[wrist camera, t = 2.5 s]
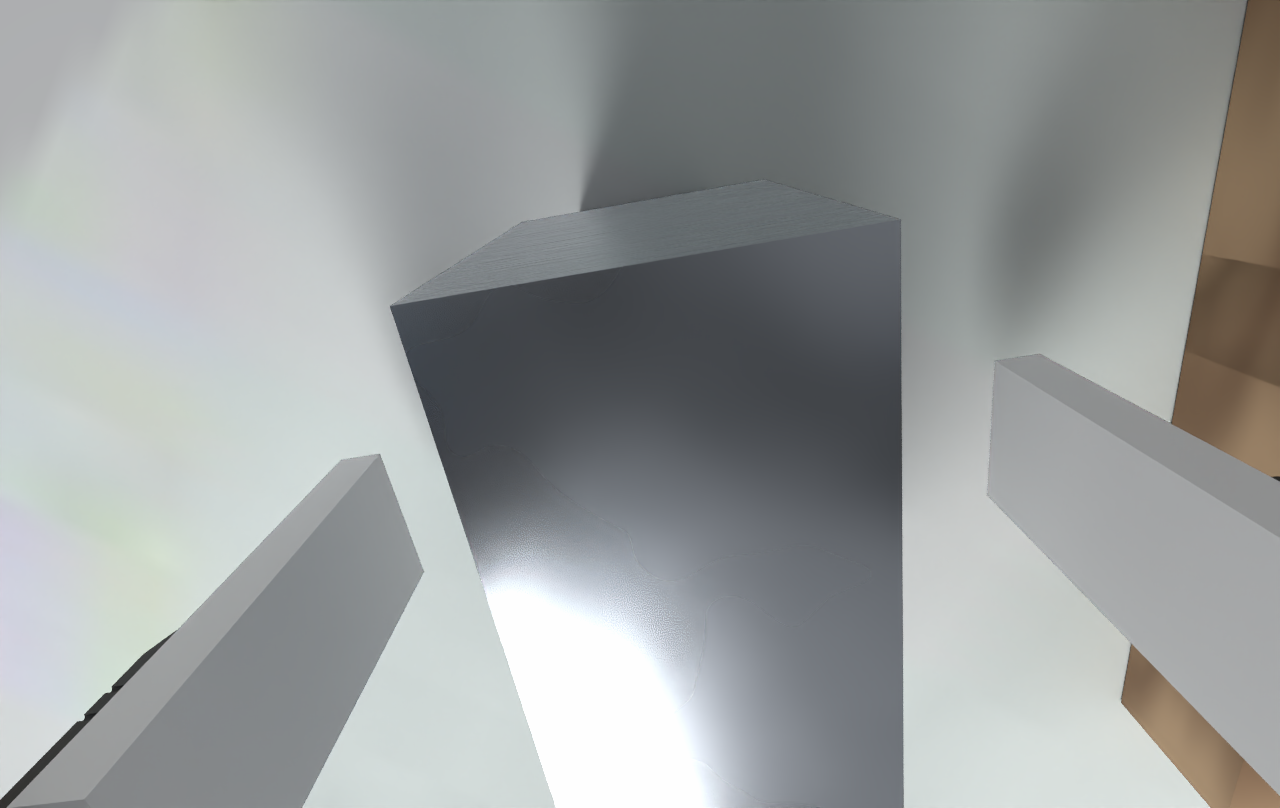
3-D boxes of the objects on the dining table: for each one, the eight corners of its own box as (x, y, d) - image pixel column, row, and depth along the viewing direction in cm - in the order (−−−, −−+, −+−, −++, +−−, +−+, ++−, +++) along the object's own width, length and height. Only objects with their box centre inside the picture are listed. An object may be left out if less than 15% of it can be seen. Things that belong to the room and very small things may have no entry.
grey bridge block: (778, 596, 15) (905, 1022, 8) (639, 615, 15) (634, 1043, 8) (735, 170, 11) (900, 219, 4) (550, 203, 12) (389, 306, 4)
